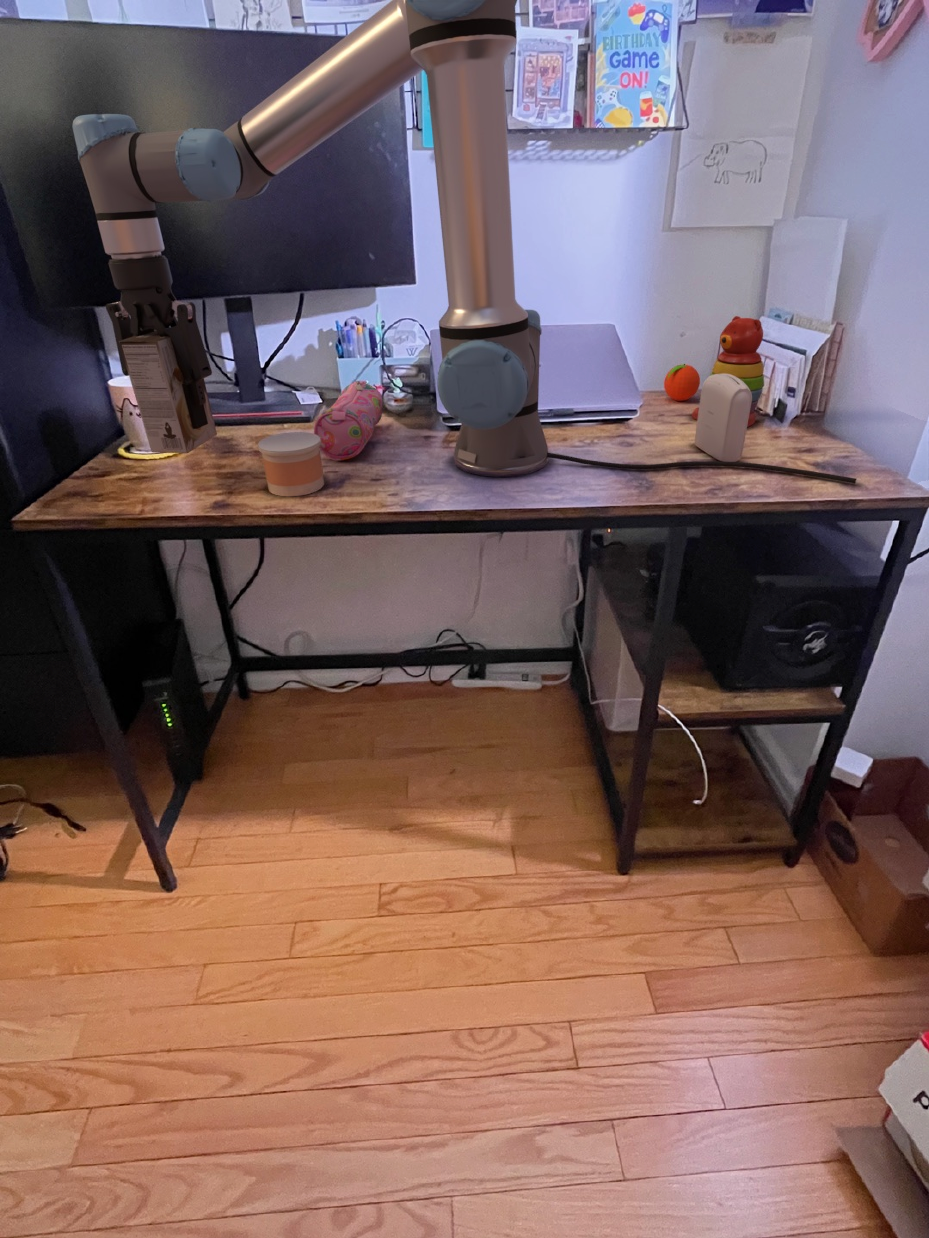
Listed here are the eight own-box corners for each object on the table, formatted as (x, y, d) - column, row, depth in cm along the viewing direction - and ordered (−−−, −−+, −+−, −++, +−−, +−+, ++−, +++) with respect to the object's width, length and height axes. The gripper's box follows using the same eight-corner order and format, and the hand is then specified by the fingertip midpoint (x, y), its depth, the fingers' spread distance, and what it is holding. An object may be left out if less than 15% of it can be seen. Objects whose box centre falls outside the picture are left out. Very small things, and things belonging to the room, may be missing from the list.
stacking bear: (687, 416, 133) (701, 315, 124) (732, 410, 136) (750, 311, 126) (721, 432, 124) (739, 325, 115) (769, 425, 127) (791, 320, 117)
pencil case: (341, 425, 134) (335, 377, 129) (388, 425, 133) (384, 376, 129) (313, 464, 116) (305, 409, 111) (368, 463, 115) (362, 408, 111)
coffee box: (182, 434, 113) (155, 328, 104) (218, 435, 112) (193, 327, 103) (149, 453, 105) (117, 340, 97) (188, 454, 104) (158, 340, 96)
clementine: (677, 407, 138) (682, 370, 134) (651, 400, 143) (655, 364, 139) (704, 400, 142) (710, 364, 138) (678, 394, 147) (682, 358, 143)
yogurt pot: (337, 478, 110) (331, 434, 106) (307, 500, 103) (300, 454, 99) (286, 473, 113) (279, 429, 109) (253, 493, 105) (244, 448, 102)
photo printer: (689, 444, 119) (700, 369, 113) (713, 442, 120) (725, 367, 113) (719, 464, 111) (733, 384, 104) (744, 462, 111) (759, 382, 105)
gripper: (214, 252, 95) (249, 421, 107) (100, 254, 101) (145, 414, 113) (178, 257, 89) (219, 436, 101) (58, 259, 95) (111, 427, 107)
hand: (180, 424), depth 107 cm, fingers closed on coffee box, 7 cm apart
